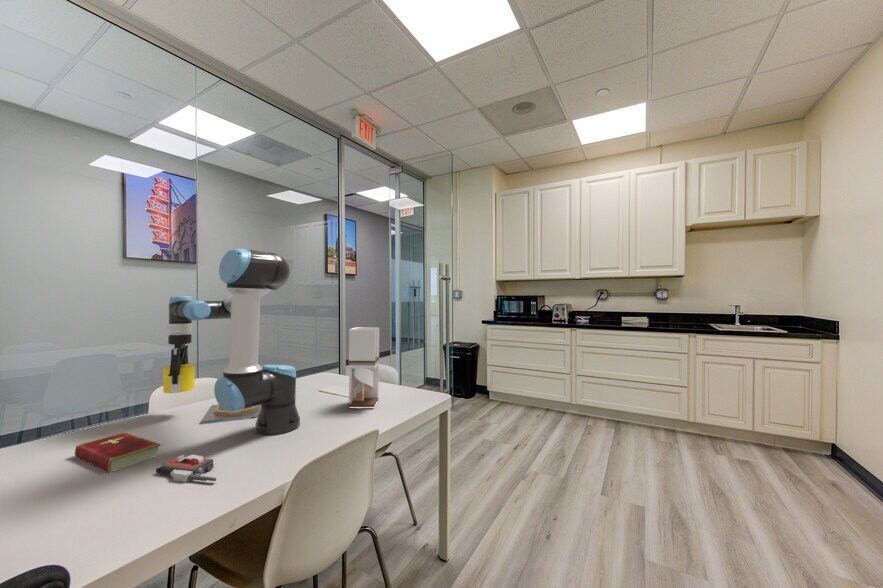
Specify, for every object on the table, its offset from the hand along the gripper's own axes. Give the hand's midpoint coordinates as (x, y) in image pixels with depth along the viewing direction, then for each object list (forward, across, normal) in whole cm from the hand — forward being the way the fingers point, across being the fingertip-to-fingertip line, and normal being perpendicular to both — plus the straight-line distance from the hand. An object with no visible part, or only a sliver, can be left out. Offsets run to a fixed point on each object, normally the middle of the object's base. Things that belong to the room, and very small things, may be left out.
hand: (179, 389), depth 140 cm
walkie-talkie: (+13, +56, +16) cm, 60 cm away
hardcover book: (+12, +35, -7) cm, 38 cm away
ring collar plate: (+11, +2, +21) cm, 24 cm away
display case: (+12, +13, +72) cm, 74 cm away
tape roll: (+1, 0, 0) cm, 1 cm away
